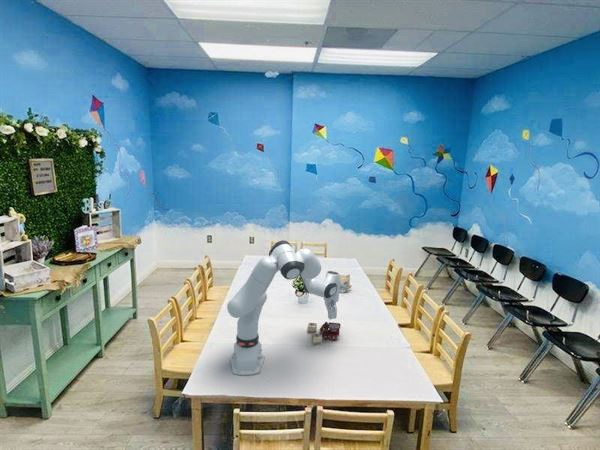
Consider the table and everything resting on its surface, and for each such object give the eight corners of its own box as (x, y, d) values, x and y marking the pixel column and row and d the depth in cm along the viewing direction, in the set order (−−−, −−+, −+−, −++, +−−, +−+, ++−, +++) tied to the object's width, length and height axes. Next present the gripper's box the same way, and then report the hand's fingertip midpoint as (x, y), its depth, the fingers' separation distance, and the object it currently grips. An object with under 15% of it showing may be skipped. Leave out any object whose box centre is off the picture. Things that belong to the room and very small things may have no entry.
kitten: (331, 293, 297) (332, 275, 294) (333, 288, 307) (334, 270, 303) (350, 295, 294) (351, 277, 290) (351, 290, 303) (352, 272, 300)
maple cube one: (321, 345, 224) (322, 337, 223) (313, 345, 223) (313, 338, 222) (318, 340, 229) (319, 332, 228) (311, 341, 228) (311, 333, 226)
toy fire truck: (320, 333, 237) (321, 318, 235) (340, 336, 235) (341, 320, 233) (318, 339, 230) (319, 323, 228) (339, 341, 228) (340, 326, 226)
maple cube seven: (315, 334, 236) (315, 326, 234) (307, 333, 236) (307, 326, 235) (316, 330, 240) (316, 323, 239) (308, 329, 241) (308, 322, 240)
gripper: (340, 304, 217) (338, 326, 220) (333, 290, 237) (331, 310, 240) (329, 304, 216) (327, 326, 220) (323, 290, 236) (322, 310, 239)
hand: (329, 318), depth 230 cm, fingers closed
